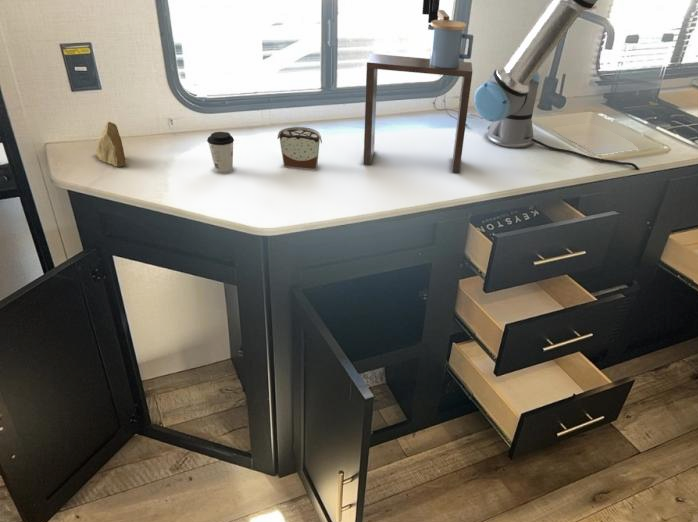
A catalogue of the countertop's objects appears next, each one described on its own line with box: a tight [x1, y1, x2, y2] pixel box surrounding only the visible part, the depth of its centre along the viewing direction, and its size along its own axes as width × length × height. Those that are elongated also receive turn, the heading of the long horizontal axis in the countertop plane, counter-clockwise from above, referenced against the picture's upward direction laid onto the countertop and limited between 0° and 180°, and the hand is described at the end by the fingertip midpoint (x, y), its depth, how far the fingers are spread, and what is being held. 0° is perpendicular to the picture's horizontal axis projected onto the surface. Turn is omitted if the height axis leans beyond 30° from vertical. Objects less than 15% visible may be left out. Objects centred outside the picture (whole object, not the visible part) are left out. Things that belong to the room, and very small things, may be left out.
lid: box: [430, 9, 467, 31], centre depth 160 cm, size 9×19×2 cm, turn 6°
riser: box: [363, 53, 473, 174], centre depth 171 cm, size 28×10×28 cm, turn 86°
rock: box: [95, 121, 126, 168], centre depth 163 cm, size 11×9×10 cm
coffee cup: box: [206, 131, 235, 175], centre depth 162 cm, size 7×7×10 cm
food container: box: [276, 126, 323, 171], centre depth 169 cm, size 12×6×10 cm, turn 84°
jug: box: [427, 24, 474, 68], centre depth 160 cm, size 12×8×10 cm, turn 86°
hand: (429, 18), depth 183 cm, fingers open, 13 cm apart
